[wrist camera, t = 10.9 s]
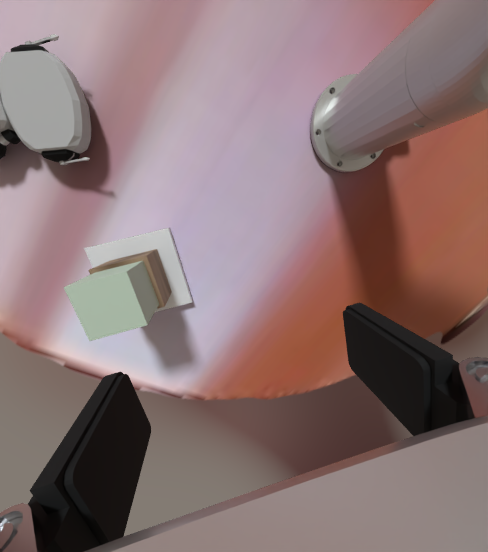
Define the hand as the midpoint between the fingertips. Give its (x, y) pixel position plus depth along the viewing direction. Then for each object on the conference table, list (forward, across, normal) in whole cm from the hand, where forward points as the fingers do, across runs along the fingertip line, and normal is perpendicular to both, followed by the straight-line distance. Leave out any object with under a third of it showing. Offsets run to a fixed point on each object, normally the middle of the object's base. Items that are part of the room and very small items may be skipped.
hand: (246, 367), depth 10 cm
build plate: (+28, +12, 0) cm, 31 cm away
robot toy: (+29, +18, -23) cm, 41 cm away
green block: (+21, +12, 0) cm, 24 cm away
